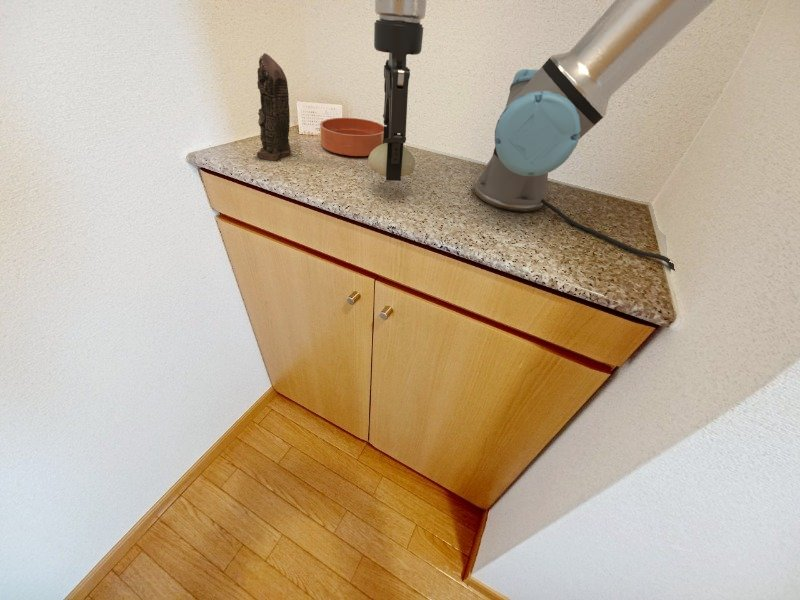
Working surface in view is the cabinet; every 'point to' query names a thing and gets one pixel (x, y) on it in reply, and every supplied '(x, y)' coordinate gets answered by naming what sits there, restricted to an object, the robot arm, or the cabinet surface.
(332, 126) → the bowl
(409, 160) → the sea urchin shell
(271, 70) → the statue
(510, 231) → the cabinet surface
